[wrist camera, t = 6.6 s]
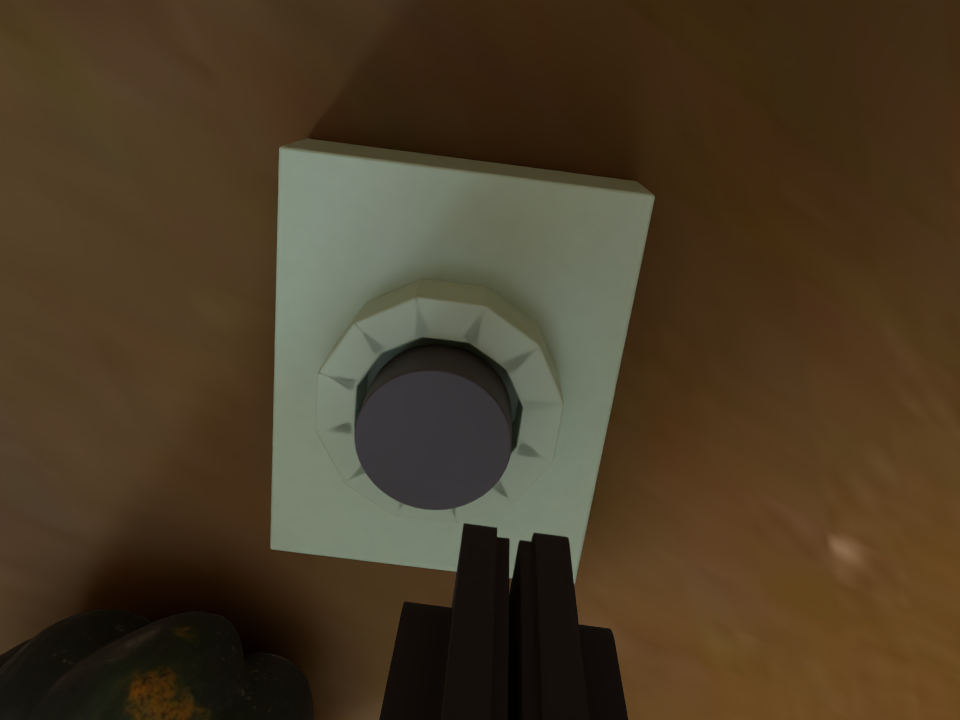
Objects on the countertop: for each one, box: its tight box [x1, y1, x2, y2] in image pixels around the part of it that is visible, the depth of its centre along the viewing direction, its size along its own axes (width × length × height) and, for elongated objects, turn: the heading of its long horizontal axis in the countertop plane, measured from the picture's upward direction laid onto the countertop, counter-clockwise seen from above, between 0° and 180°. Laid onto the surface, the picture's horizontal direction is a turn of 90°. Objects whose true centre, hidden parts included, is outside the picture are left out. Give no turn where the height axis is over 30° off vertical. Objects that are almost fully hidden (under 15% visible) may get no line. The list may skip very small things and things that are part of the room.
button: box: [354, 344, 512, 510], centre depth 21 cm, size 4×4×2 cm
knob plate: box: [270, 138, 655, 585], centre depth 24 cm, size 14×11×5 cm
